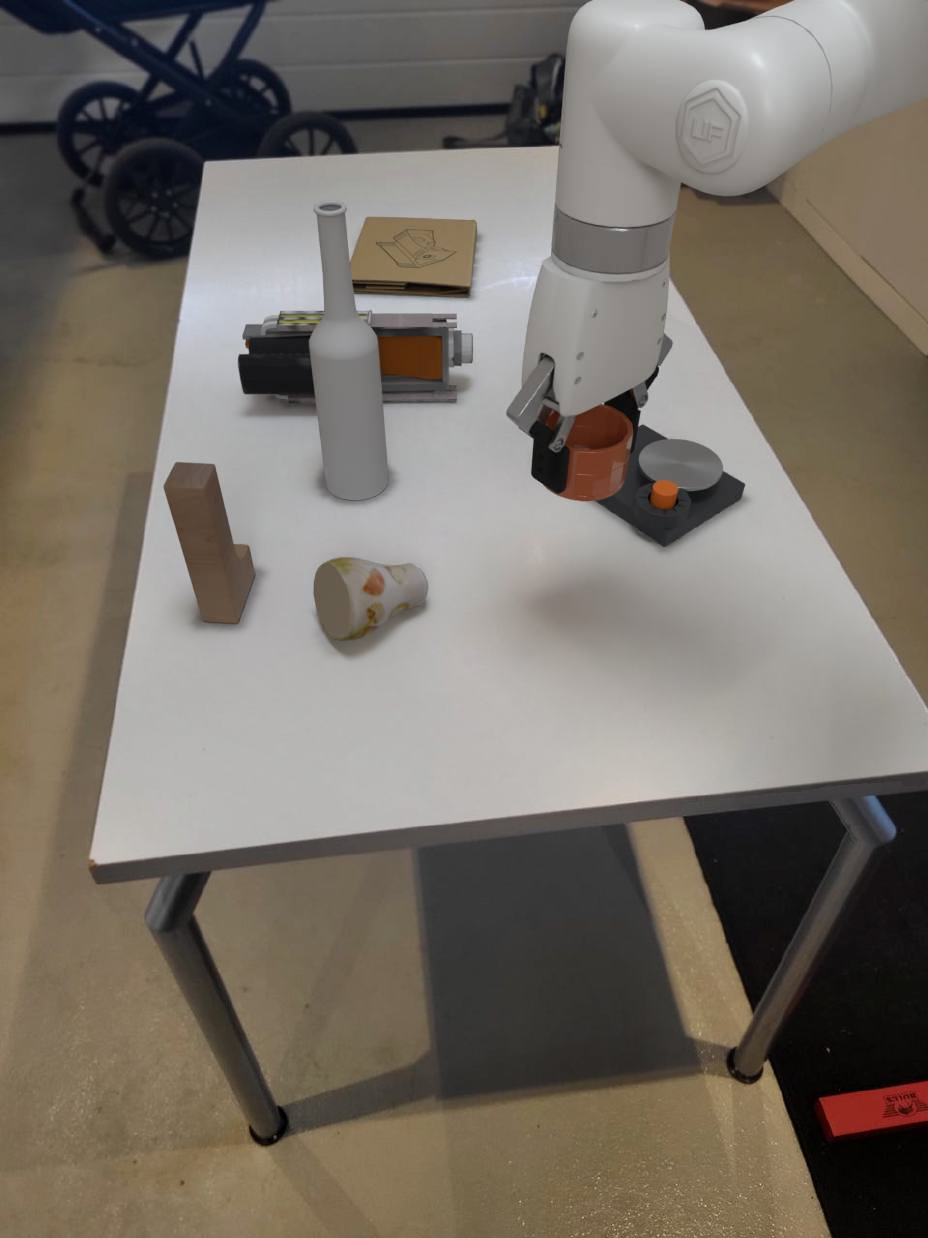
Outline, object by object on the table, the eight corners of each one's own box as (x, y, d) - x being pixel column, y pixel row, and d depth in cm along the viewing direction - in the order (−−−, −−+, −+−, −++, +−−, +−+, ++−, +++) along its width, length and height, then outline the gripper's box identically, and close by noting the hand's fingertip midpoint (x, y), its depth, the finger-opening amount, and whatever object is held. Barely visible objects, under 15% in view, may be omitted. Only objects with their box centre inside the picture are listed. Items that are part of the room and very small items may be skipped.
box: (470, 298, 122) (470, 282, 120) (344, 293, 122) (343, 277, 121) (478, 234, 137) (479, 218, 135) (366, 230, 137) (365, 215, 136)
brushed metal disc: (739, 469, 89) (740, 466, 88) (684, 502, 85) (685, 499, 85) (675, 432, 93) (676, 429, 93) (620, 462, 89) (621, 459, 89)
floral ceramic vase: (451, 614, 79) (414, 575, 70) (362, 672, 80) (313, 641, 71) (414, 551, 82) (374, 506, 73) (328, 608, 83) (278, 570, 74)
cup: (642, 477, 69) (651, 428, 66) (582, 513, 66) (588, 463, 63) (580, 439, 73) (586, 391, 70) (520, 471, 70) (523, 422, 66)
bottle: (374, 505, 90) (351, 225, 70) (315, 493, 91) (275, 215, 71) (397, 468, 94) (382, 195, 74) (340, 457, 95) (310, 186, 75)
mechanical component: (473, 418, 101) (474, 337, 94) (247, 419, 101) (231, 337, 93) (471, 375, 107) (472, 296, 100) (259, 375, 107) (245, 296, 100)
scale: (742, 499, 91) (751, 471, 88) (659, 551, 85) (665, 523, 83) (640, 438, 98) (645, 411, 96) (557, 482, 93) (560, 454, 90)
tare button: (680, 503, 85) (683, 488, 84) (663, 512, 84) (666, 498, 83) (661, 491, 87) (664, 476, 85) (644, 500, 86) (647, 486, 84)
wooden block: (238, 624, 78) (203, 488, 67) (201, 622, 78) (161, 485, 67) (256, 574, 82) (226, 438, 72) (221, 572, 83) (187, 436, 72)
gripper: (656, 184, 62) (622, 405, 75) (469, 252, 54) (467, 486, 67) (743, 217, 58) (691, 445, 71) (556, 295, 50) (535, 535, 63)
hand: (582, 463), depth 69 cm, fingers closed on cup, 6 cm apart
